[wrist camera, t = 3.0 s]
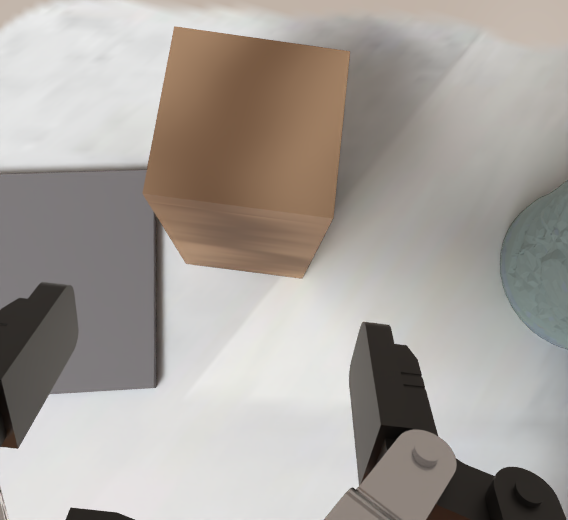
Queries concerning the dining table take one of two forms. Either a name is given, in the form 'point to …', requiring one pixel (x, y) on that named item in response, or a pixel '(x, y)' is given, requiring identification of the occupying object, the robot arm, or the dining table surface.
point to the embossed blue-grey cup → (539, 266)
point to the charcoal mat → (87, 267)
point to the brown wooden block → (247, 150)
